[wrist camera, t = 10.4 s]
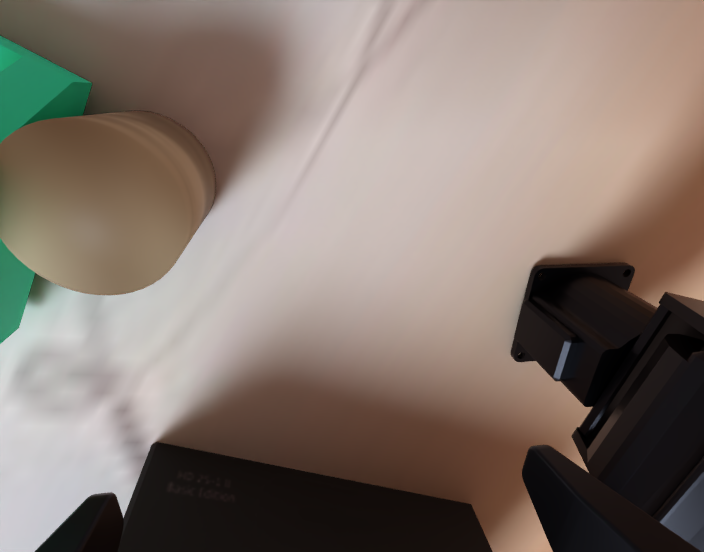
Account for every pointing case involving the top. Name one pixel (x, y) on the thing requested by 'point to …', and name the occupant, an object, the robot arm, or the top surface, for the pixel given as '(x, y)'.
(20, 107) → the green angle bracket
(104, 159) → the round dowel
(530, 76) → the top surface
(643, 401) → the robot arm
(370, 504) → the headphone box
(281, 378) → the top surface
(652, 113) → the top surface
